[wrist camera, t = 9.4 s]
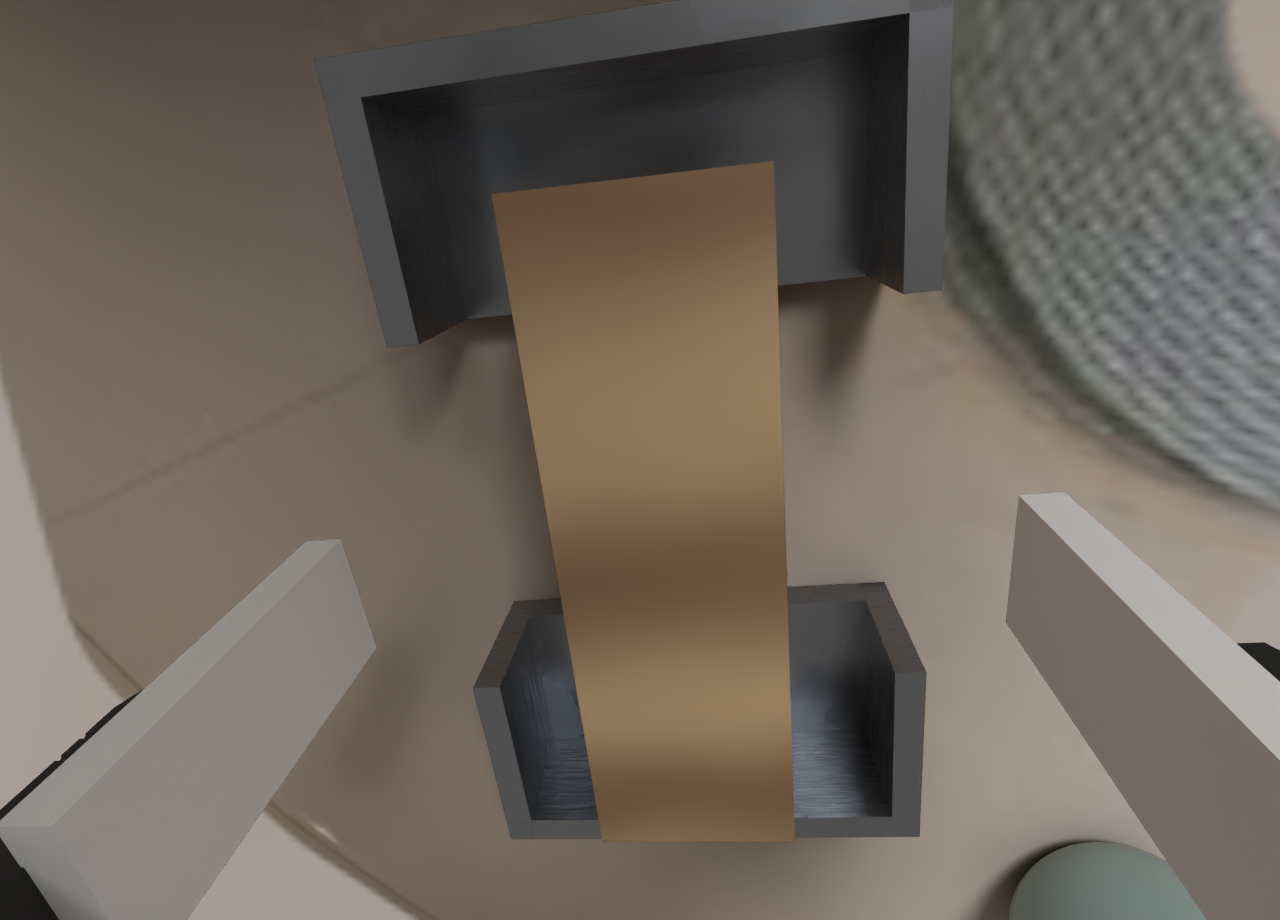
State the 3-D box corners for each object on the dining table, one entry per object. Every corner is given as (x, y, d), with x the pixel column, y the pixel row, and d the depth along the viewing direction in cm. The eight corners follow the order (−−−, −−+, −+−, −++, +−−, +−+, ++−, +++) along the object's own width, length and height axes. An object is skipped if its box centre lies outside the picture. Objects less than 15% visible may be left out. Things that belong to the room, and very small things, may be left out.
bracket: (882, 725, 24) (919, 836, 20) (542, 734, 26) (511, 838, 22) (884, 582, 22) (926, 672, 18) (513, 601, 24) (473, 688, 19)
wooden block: (558, 195, 18) (491, 194, 12) (751, 172, 17) (773, 161, 11) (627, 687, 23) (602, 841, 18) (772, 683, 23) (794, 842, 17)
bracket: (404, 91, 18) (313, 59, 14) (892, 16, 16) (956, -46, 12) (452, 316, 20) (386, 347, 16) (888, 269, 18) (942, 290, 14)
